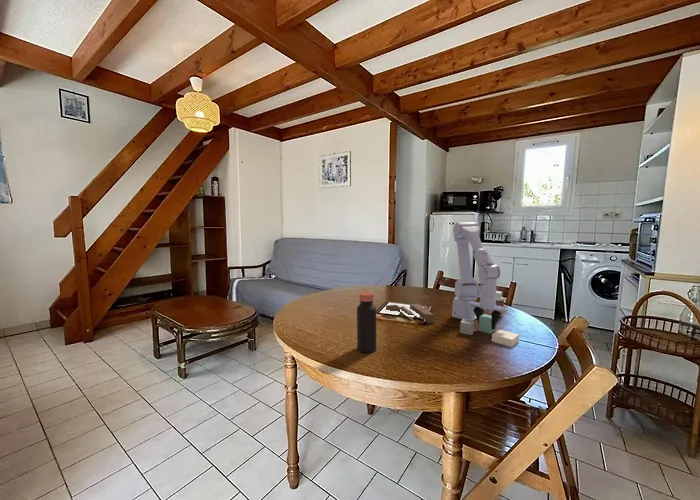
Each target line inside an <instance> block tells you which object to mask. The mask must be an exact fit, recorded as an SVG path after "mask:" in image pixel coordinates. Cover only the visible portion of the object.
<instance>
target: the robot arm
mask: <svg viewBox="0 0 700 500" xmlns="http://www.w3.org/2000/svg"><path fill="white" fill-rule="evenodd" d="M452 233H453V241H454V242H456V248H457V257H458V265H459V266H458V267H459V268H458V269H459V276H460V277H459V278H458V279H457V280H456V281H455V282H454V295H455V297H454V298H453V300H452V306H451V307H452V315H451V317H452V318H456V319H461V320H462V319H466V320H472V321H475V320H477V323H478V325H479V316H481V315H483V314H484V311H485V310H487V311H489V310H490V311H494V312H492V313H491V317H492V330H494V329H496V328H497V323H498V321H499V319H500V317H501V316H500V315H501V314H502V313H503V315H507V314H508V311H509V308H508V307H505V306H504V307H500V306H497V305H496V291H497V279H499V278H500V276H501V269H500V267H499V265H497V264H496V263H495V262H493V259H492V258H491V255H490V254H489V251H488V250H487V249H485V248H484V247H483V244H482V241H481V238H480V225H479V223H478V222H477V221H469V222H467V221H466V222H465V221H464V222H463V221H462V222H459V221H457V222H455V223H454V225H453V228H452ZM469 244H470V246H471V247H472V249H473V251H474V253H473V258H474V260H475V263H476V265H477V267H478V269H477V277H478V280H477V279H475V278H474V277H473V273H472V264H471V254H470V246H469ZM478 281H479V282H478ZM479 283H480V286H479ZM478 298H479V302H476V300H478Z"/></svg>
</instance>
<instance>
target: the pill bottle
mask: <svg viewBox="0 0 700 500" xmlns="http://www.w3.org/2000/svg"><path fill="white" fill-rule="evenodd" d="M504 299H505V298H504V297H503V291H501V290H500V291H499V290H496V305H497V306H500V307H504V308H505V306H504V305H505V300H504ZM492 312H494V311H490V310H488V315H491V313H492ZM503 316H504V314H503V313H502V314H501V315H500V317H503Z"/></svg>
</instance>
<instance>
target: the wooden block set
mask: <svg viewBox="0 0 700 500" xmlns="http://www.w3.org/2000/svg"><path fill="white" fill-rule="evenodd" d="M400 309H401V310H402V311H404V312H405V313H407V314H408V315H414V314H413V313H412V312H411V311H410V309H412V310H413V311H415V312H416V313H418V314H419V315H421V317H422V318H424V319H425V321H426V323H425V324H434V323H435V314H433V313H432V312H431V311H429V310H428V309H427V308H426V307H424V306H423V305H421V304H419V303H410V304H409V309H408V308H406V307H405V306H404V305H402V306H399V305H398V304H391V305H390V304H386V305H385V311H386V310H390V311H398V312H400ZM400 313H401V312H400Z"/></svg>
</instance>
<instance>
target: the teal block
mask: <svg viewBox="0 0 700 500" xmlns="http://www.w3.org/2000/svg"><path fill="white" fill-rule="evenodd" d="M495 329H496V328H495ZM495 329H494V330H492V317H491V315H490V314H487V313H486V314H485V313H483V315H481V316H479V324H478V331H479V332H482V333H487V334H491V335H492V334H493V333H494V332H496V330H495Z"/></svg>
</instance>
